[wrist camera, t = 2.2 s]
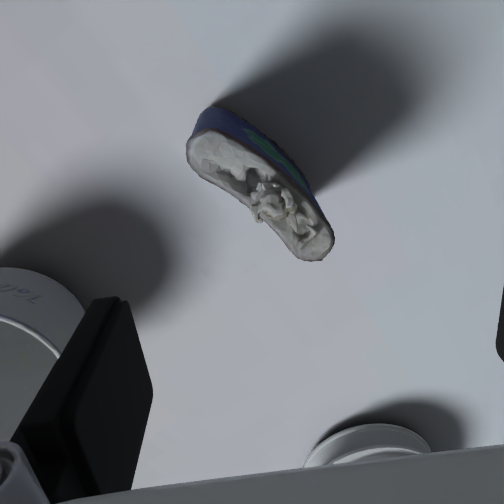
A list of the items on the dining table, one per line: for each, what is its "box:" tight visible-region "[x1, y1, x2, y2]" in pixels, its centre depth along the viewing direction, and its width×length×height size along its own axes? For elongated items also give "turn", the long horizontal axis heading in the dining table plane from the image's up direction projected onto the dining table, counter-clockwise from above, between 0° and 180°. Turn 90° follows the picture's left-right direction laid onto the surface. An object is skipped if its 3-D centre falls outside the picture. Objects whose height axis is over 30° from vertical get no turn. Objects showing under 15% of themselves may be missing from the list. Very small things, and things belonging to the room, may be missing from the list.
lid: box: [303, 424, 432, 468], centre depth 39 cm, size 13×13×5 cm
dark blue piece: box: [186, 107, 335, 262], centre depth 24 cm, size 9×3×11 cm, turn 48°
